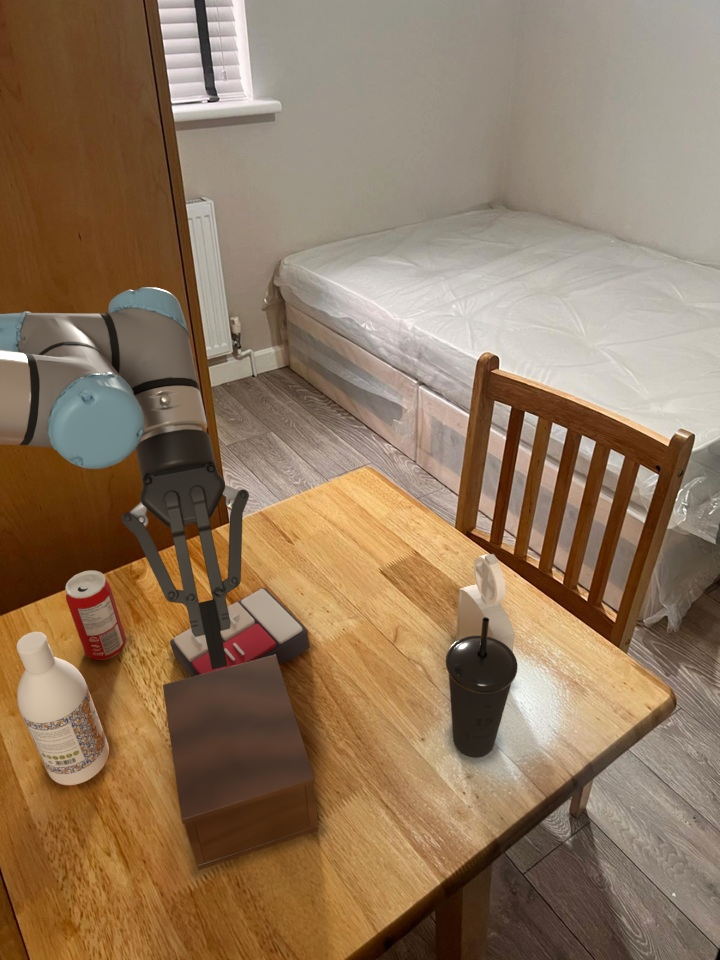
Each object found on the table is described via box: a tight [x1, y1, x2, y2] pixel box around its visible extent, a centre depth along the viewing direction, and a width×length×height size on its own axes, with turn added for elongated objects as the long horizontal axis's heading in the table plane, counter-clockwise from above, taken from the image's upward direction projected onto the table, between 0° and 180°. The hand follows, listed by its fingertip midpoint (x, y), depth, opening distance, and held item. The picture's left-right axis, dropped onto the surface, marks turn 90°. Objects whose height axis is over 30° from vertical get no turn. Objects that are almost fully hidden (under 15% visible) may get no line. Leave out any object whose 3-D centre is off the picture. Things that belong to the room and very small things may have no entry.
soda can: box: [64, 569, 127, 661], centre depth 96 cm, size 6×6×12 cm
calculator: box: [169, 587, 311, 678], centre depth 97 cm, size 11×4×15 cm
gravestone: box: [455, 553, 516, 653], centre depth 91 cm, size 3×9×18 cm, turn 20°
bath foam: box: [16, 631, 110, 786], centre depth 80 cm, size 7×7×20 cm
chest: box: [183, 783, 319, 871], centre depth 79 cm, size 16×13×10 cm
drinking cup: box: [445, 617, 518, 759], centre depth 80 cm, size 8×8×20 cm
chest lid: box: [162, 655, 316, 825], centre depth 76 cm, size 17×13×1 cm
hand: (219, 666), depth 71 cm, fingers closed
